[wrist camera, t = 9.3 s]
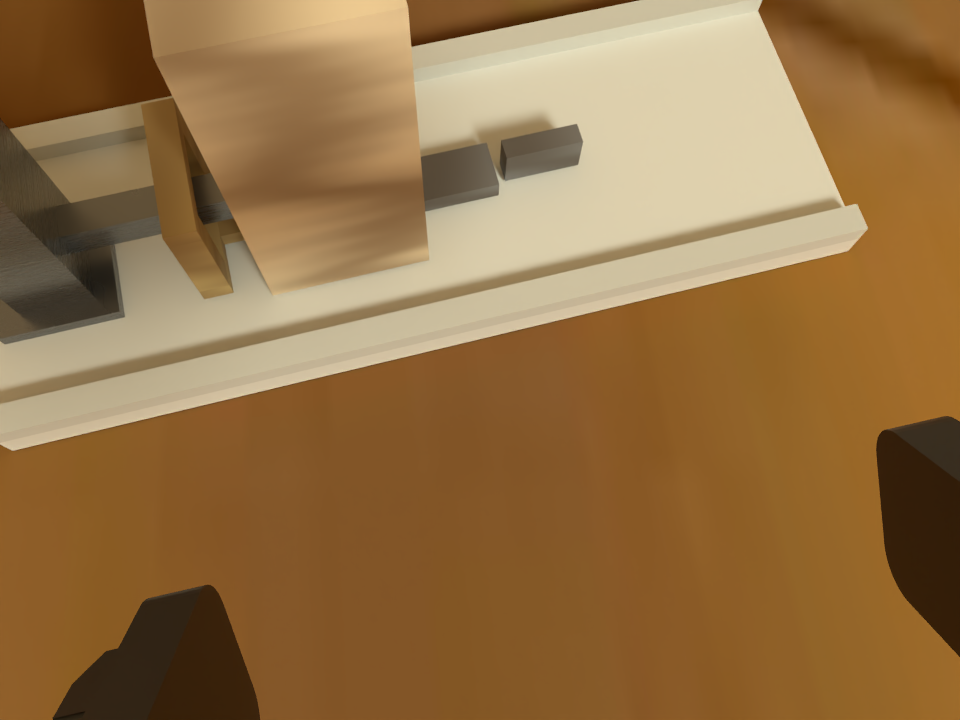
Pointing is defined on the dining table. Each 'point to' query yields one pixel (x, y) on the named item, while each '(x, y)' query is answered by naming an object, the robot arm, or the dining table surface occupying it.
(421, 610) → the dining table surface
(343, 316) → the tie down bed
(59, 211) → the hook
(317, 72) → the tall tan block
